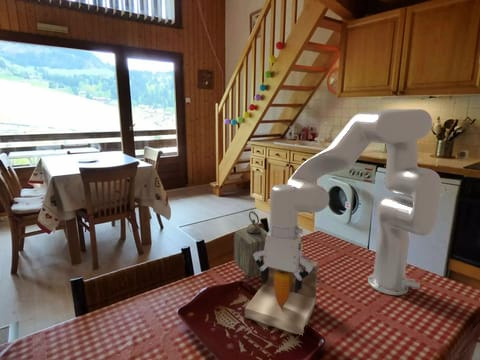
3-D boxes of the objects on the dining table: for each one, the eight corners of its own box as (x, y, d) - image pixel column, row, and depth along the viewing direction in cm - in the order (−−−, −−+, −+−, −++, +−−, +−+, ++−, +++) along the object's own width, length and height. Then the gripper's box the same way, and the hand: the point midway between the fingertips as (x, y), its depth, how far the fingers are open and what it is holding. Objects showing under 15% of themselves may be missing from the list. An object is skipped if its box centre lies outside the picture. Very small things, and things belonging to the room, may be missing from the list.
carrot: (289, 313, 84) (292, 264, 81) (272, 311, 85) (274, 263, 82) (289, 302, 89) (292, 256, 86) (273, 301, 90) (275, 255, 86)
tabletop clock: (273, 285, 104) (275, 216, 98) (249, 291, 100) (250, 220, 94) (253, 266, 116) (254, 204, 111) (232, 271, 113) (232, 207, 107)
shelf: (315, 304, 93) (318, 261, 90) (302, 336, 80) (305, 286, 77) (264, 289, 101) (265, 249, 98) (245, 317, 87) (245, 271, 84)
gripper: (318, 230, 81) (314, 287, 85) (259, 220, 89) (258, 273, 93) (311, 240, 75) (307, 301, 78) (248, 229, 82) (248, 285, 86)
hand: (281, 286), depth 85 cm, fingers open, 9 cm apart
